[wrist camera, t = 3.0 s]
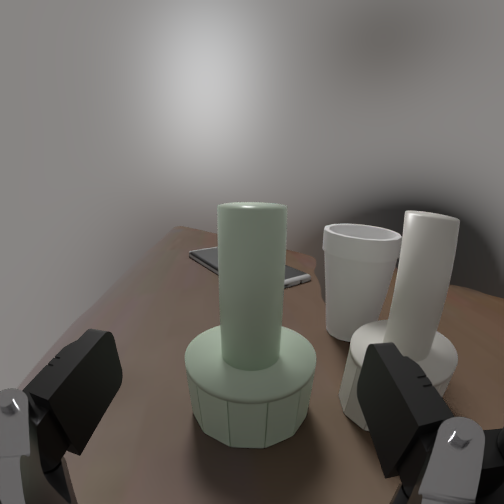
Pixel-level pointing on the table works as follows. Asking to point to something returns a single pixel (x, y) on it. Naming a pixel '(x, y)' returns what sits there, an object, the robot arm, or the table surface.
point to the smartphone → (211, 262)
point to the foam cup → (357, 275)
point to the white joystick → (412, 308)
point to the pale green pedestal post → (250, 337)
